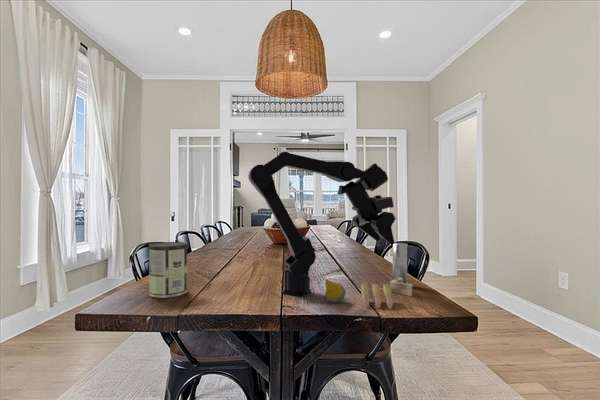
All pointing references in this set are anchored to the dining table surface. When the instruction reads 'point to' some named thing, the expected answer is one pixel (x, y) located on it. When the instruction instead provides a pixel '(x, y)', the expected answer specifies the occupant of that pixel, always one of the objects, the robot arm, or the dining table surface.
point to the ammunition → (376, 295)
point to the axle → (400, 261)
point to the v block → (400, 287)
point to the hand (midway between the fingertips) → (385, 242)
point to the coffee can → (167, 269)
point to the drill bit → (334, 292)
